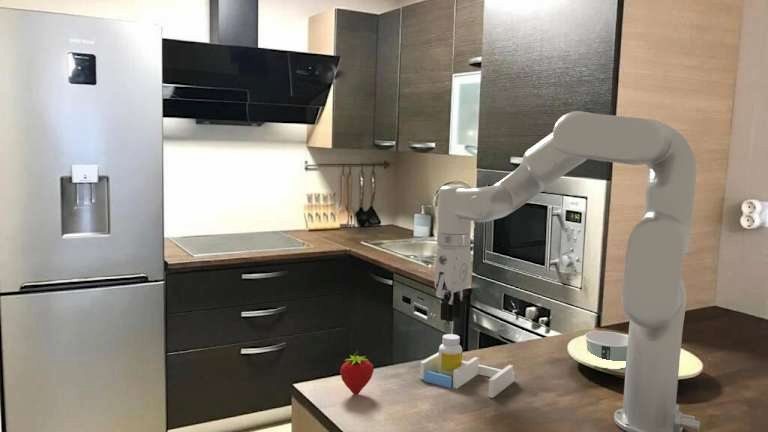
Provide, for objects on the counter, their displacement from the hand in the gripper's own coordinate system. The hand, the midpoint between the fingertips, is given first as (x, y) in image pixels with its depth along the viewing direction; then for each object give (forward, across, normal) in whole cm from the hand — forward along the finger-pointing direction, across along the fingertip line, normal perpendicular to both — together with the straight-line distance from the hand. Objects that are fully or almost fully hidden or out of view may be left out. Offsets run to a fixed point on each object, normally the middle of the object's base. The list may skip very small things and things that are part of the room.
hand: (450, 318), depth 149 cm
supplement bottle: (+14, 0, 0) cm, 14 cm away
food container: (+14, +33, -28) cm, 45 cm away
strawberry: (+14, -21, +11) cm, 28 cm away
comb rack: (+14, 0, -4) cm, 15 cm away
